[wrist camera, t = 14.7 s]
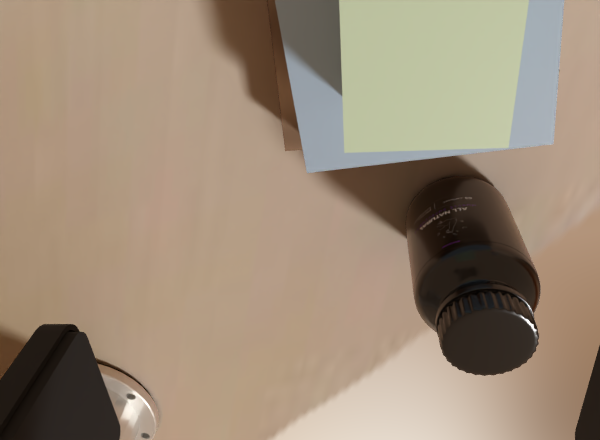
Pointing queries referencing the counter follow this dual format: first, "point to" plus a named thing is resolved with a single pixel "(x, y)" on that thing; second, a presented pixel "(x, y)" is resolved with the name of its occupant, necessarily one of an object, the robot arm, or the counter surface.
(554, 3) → the slate top block
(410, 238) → the supplement bottle
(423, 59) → the sage block
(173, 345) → the counter surface
